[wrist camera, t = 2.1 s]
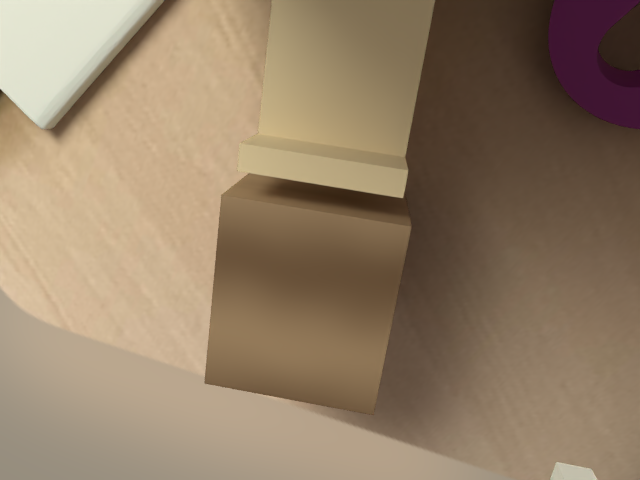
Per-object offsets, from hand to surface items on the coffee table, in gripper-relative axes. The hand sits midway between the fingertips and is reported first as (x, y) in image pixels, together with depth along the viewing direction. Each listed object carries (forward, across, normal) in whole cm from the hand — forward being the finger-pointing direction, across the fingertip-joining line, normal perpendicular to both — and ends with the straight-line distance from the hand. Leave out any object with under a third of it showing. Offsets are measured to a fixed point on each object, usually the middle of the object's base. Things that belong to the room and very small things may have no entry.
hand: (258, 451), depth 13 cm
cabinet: (+19, 0, 0) cm, 19 cm away
